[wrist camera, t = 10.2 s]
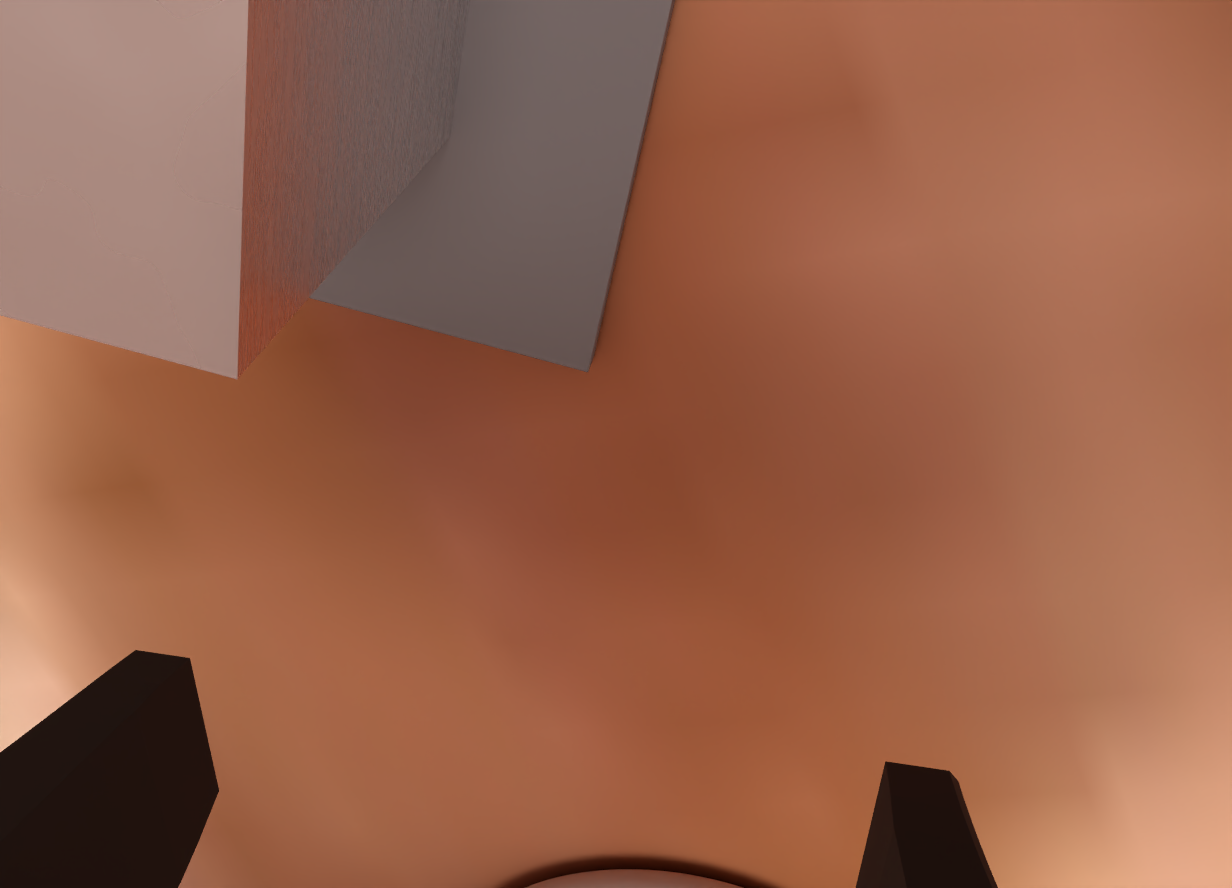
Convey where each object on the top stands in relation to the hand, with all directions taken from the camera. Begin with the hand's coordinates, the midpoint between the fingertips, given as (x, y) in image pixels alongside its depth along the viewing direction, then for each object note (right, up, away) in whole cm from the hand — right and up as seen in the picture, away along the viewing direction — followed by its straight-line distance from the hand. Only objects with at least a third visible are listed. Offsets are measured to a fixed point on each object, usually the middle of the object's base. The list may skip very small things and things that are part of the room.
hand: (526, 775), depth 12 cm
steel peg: (-3, +11, +6) cm, 12 cm away
